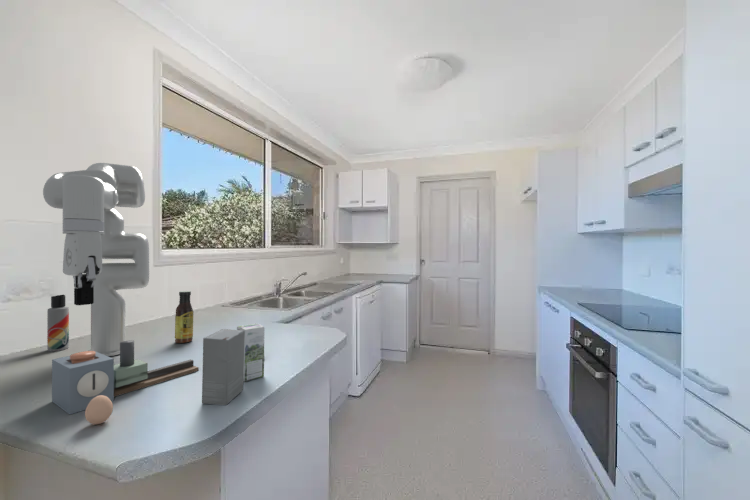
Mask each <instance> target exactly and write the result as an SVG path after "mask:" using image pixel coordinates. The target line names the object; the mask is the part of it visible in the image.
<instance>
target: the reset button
mask: <svg viewBox="0 0 750 500" xmlns="http://www.w3.org/2000/svg"><path fill="white" fill-rule="evenodd" d="M95 355H96V352H95V351H88V350H85V351H80V352H75V353H72V354H70V355H69V356H70V360H72V364H75V363H80V362H84V361H89V360H93V359H94V356H95Z"/></svg>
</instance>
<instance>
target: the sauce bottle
mask: <svg viewBox="0 0 750 500" xmlns="http://www.w3.org/2000/svg"><path fill="white" fill-rule="evenodd" d="M191 294H192V291H190V290H185V291H184V290H183V291H179V293H178V296H179V301H178V303H179V304H178V305H177V307H176V308H175V316H174V317H175V318H174V321H175V323H174V342H175V344H185V343H190V342H192V341H193V337H194V309H193V305H192V303H191V296H192V295H191Z"/></svg>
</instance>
